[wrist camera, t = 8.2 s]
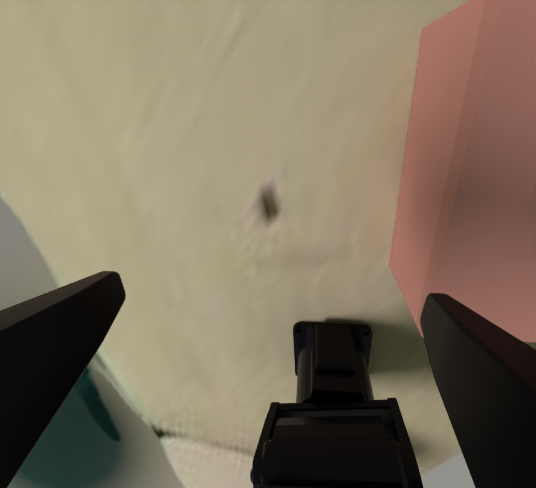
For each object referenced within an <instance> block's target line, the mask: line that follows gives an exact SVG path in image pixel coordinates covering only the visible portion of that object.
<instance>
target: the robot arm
mask: <svg viewBox="0 0 536 488" xmlns="http://www.w3.org/2000/svg"><path fill="white" fill-rule="evenodd" d="M125 296H126V295H125V290H124V287H123V284H122V281H121V278H120V275H119V274H118V273H117V272H114V271H102V272H99V273H97V274H94V275H92V276H89V277H86V278H84V279H81V280H79V281H76V282H73V283H71V284H68V285H66V286H63V287H61V288H58V289H55V290H53V291H50V292H48V293H45V294H42V295H40V296H37V297H35V298H32V299H29V300H27V301H24V302H22V303H19V304H17V305H14V306H11V307H9V308H6V309H3V310H1V311H0V488H7V487H8V485H9V484H10V482H11V481H12V479H13V478H14V476H15V475H16V473H17V471H18V470H19V469H20V467H21V466H22V464H23V463H24V461H25V460H26V458H27V456H28V455H29V454H30V452H31V451H32V449H33V447H34V446H35V444H36V443H37V441H38V440H39V438H40V437H41V435H42V434H43V432H44V431H45V429H46V428H47V426H48V425H49V423H50V422H51V420H52V418H53V417H54V416H55V414H56V413H57V411H58V409H59V408H60V406H61V405H62V403H63V402H64V400H65V399H66V397H67V396H68V394H69V393H70V391H71V390H72V388H73V387H74V385H75V384H76V382H77V381H78V379H79V378H80V376H81V375H82V373H83V371H84V370H85V368H86V367H87V365H88V364H89V362H90V361H91V359H92V358H93V356H94V355H95V353H96V352H97V350H98V349H99V347H100V345H101V344H102V342H103V340H104V338H105V337H106V335H107V333H108V331H109V329H110V327H111V325H112V323H113V322H114V320H115V318H116V316H117V314H118V312H119V310H120V308H121V306H122V305H123V303H124V301H125ZM420 324H421V329H422V333H423V337H424V340H425V344H426V348H427V352H428V356H429V360H430V364H431V368H432V372H433V375H434V378H435V381H436V384H437V387H438V390H439V392H440V395H441V398H442V400H443V403H444V406H445V408H446V411H447V413H448V416H449V419H450V421H451V424H452V427H453V429H454V432H455V435H456V437H457V440H458V442H459V445H460V448H461V450H462V453H463V455H464V458H465V461H466V464H467V466H468V469H469V471H470V474H471V477H472V479H473V482H474V485H475V487H476V488H536V350H535V349H534V348H532V347H530V346H529V345H527V344H526V343H524V342H522V341H521V340H519V339H518V338H516V337H514V336H513V335H511V334H510V333H508V332H506V331H505V330H503V329H502V328H500V327H498V326H497V325H495V324H494V323H492V322H491V321H489V320H487V319H486V318H484V317H483V316H481V315H479V314H478V313H476V312H475V311H473V310H471V309H470V308H468V307H467V306H465V305H463V304H462V303H460V302H459V301H457V300H455V299H454V298H452V297H451V296H449V295H447V294H444V293H429V294H428V295H427V297H426V300H425V303H424V306H423V309H422V313H421V316H420ZM298 328H300V329H298ZM364 331H367V332H364ZM293 337H294V356H295V374H296V375H297V376H298V377H297V397H296V403H279V402H272V403H271V405H270V409H269V412H268V413H267V416H266V419H265V423H264V426H263V429H262V433H261V436H260V439H259V442H258V446H257V449H256V452H255V455H254V459H253V468H252V470H251V474H250V479H251V482H252V483H253V488H423V484H422V481H421V476H420V472H419V469H418V465H417V461H416V458H415V455H414V451H413V448H412V445H411V442H410V439H409V436H408V433H407V430H406V427H405V424H404V421H403V418H402V415H401V412H400V409H399V406H398V403H397V400H396V398H387V399H388V400H374V396H373V392H372V387H371V382H370V377H369V372H368V365H369V357H370V349H371V341H372V329H371V327H369V326H367V325H343V324H317V323H296V324H294V326H293Z"/></svg>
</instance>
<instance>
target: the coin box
mask: <svg viewBox="0 0 536 488" xmlns="http://www.w3.org/2000/svg"><path fill="white" fill-rule="evenodd" d="M389 266H390V268H391V270H392V272H393V274H394V277H395V279H396V281H397V283H398V285H399V288H400V290H401V292H402V294H403V297H404V299H405V301H406V303H407V305H408V308H409V310H410V312H411V314H412V316H413V319H414V321H415V323H416V325H417V328H418V330H419V332H420V334H421V336H422V337H423V333H422V329H421V324H420V316H421V313H422V309H423V306H424V303H425V300H426V297H427V295H428V294H429V293H444V294H447V295H449V296H451V297H452V298H454V299H455V300H457V301H459V302H460V303H462V304H463V305H465V306H467V307H468V308H470V309H471V310H473V311H475V312H476V313H478V314H479V315H481V316H483V317H484V318H486V319H487V320H489V321H491V322H492V323H494V324H495V325H497V326H498V327H500V328H502V329H503V330H505V331H506V332H508V333H510V334H511V335H513V336H514V337H516V338H518V339H519V340H521V341H522V342H536V0H470V1H468V2H467V3H465V4H463V5H462V6H460V7H458V8H456V9H455V10H453V11H451V12H450V13H448V14H446V15H445V16H443V17H441V18H440V19H438V20H436V21H435V22H433V23H431V24H430V25H428V26H426V27H425V28H423V29H422V34H421V41H420V49H419V56H418V63H417V70H416V77H415V85H414V92H413V99H412V106H411V113H410V120H409V128H408V135H407V142H406V149H405V156H404V163H403V171H402V178H401V185H400V192H399V199H398V206H397V214H396V221H395V228H394V235H393V242H392V250H391V257H390V264H389ZM423 338H424V337H423Z"/></svg>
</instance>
